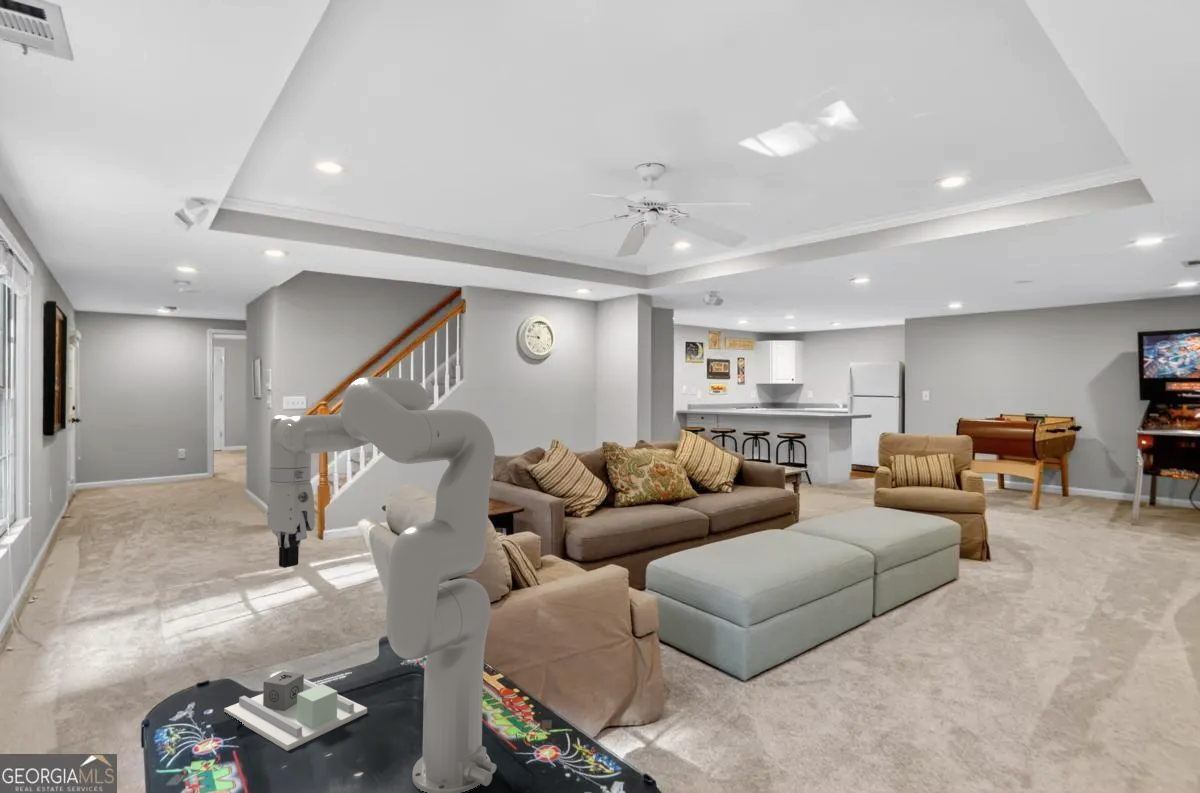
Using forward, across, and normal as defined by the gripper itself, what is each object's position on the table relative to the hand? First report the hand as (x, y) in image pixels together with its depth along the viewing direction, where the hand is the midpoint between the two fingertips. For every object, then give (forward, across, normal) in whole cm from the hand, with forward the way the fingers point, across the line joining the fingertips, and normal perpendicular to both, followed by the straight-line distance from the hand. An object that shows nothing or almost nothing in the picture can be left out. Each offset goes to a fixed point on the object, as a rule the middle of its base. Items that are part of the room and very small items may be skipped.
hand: (288, 565), depth 127 cm
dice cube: (+26, -3, +2) cm, 27 cm away
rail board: (+27, -7, +2) cm, 28 cm away
